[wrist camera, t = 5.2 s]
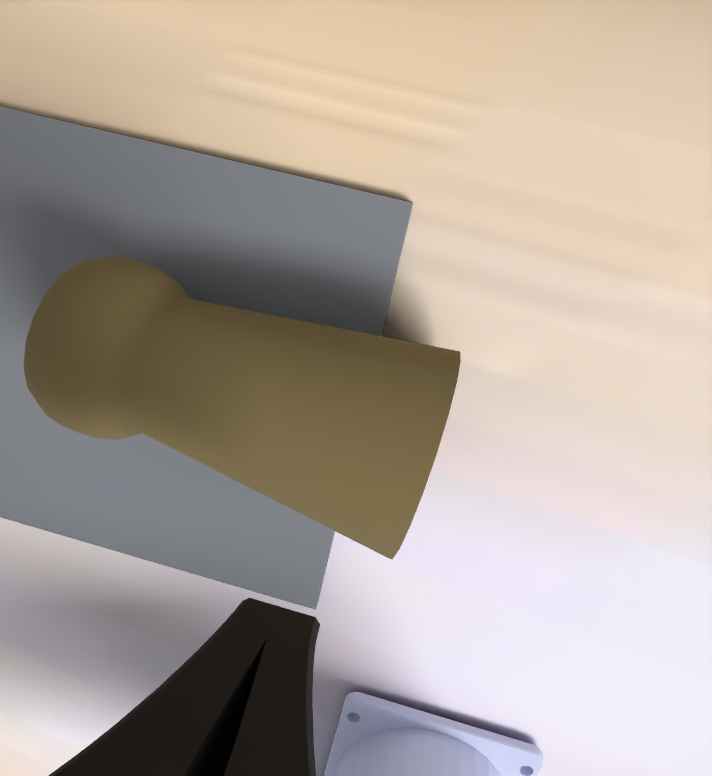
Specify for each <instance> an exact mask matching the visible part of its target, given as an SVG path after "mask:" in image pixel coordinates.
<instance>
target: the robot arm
mask: <svg viewBox="0 0 712 776" xmlns="http://www.w3.org/2000/svg"><path fill="white" fill-rule="evenodd" d="M319 627H320V623H319V622H318V620H317V619H316V617H313V616H309V615H306V614H303V613H299V612H296V611H292V610H289V609H286V608H282V607H279V606H275V605H272V604H269V603H265V602H262V601H258V600H255V599H252V598H248V599H246V600H244V601H242V602H241V604H240V605H239V606H238V607H237V609H236V610H235V611H234V612H233V613H232V614H231V616H230V617H229V618H228V619H227V620H226V621H225V622H224V623H223V625H222V626H221V627H220V628H219V629H218V630H217V631H216V632H215V633H214V634H213V635H212V636H211V637H210V638H209V639H208V640H207V641H206V642H205V643H204V645H203V646H202V647H201V648H200V649H199V650H198V651H197V652H196V653H195V654H194V655H192V656H191V657H190V658H189V659H188V660H187V661H186V662H185V663H184V664H183V665H182V666H181V667H180V668H179V669H178V670H177V671H176V672H175V673H174V674H172V675H171V676H170V677H169V678H168V679H167V680H166V681H165V682H164V683H163V684H162V685H161V686H160V687H159V688H157V689H156V690H155V691H154V692H153V693H152V694H151V695H149V696H148V697H147V698H146V699H145V700H143V701H142V702H141V703H140V704H139V705H138V706H136V707H135V708H134V709H133V710H132V711H131V712H129V713H128V714H127V715H126V716H125V717H124V718H122V719H121V720H120V721H119V722H118V723H117V724H115V725H114V726H113V727H112V728H110V729H109V730H108V731H107V732H105V733H104V734H103V735H102V736H100V737H99V738H98V739H97V740H95V741H94V742H93V743H92V744H90V745H89V746H88V747H86V748H85V749H84V750H82V751H81V752H80V753H79V754H77V755H76V756H75V757H73V758H72V759H70V760H69V761H68V762H66V763H65V764H64V765H62V766H61V767H60V768H58V769H57V770H56V771H54V772H53V773H52V774H50V775H49V776H316V771H315V759H314V743H313V712H312V683H313V663H314V653H315V645H316V639H317V635H318V631H319ZM351 712H352V713H351ZM353 713H356V714H353ZM543 763H544V759H543V753H542V751H541V749H540V748H539V747H537V746H535V745H533V744H529V743H526V742H523V741H519V740H516V739H513V738H510V737H506V736H503V735H500V734H496V733H493V732H490V731H486V730H483V729H480V728H477V727H473V726H470V725H467V724H463V723H460V722H457V721H453V720H450V719H447V718H444V717H440V716H437V715H434V714H430V713H427V712H424V711H420V710H417V709H414V708H410V707H407V706H404V705H401V704H397V703H394V702H391V701H387V700H384V699H381V698H377V697H374V696H371V695H368V694H364V693H361V692H351V693H349V694H348V695H347V696H346V698H345V701H344V705H343V709H342V712H341V716H340V719H339V723H338V726H337V730H336V733H335V737H334V740H333V744H332V747H331V751H330V755H329V758H328V762H327V765H326V769H325V772H324V776H538V774H539V772H540V770H541V768H542V766H543Z"/></svg>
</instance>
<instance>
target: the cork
mask: <svg viewBox="0 0 712 776" xmlns="http://www.w3.org/2000/svg"><path fill="white" fill-rule="evenodd" d="M459 367H460V352H459V351H454V350H449V349H444V348H439V347H434V346H429V345H423V344H418V343H413V342H408V341H403V340H398V339H393V338H388V337H382V336H377V335H372V334H367V333H362V332H357V331H352V330H347V329H341V328H336V327H331V326H326V325H321V324H316V323H311V322H306V321H300V320H295V319H290V318H285V317H280V316H275V315H270V314H264V313H259V312H254V311H249V310H244V309H239V308H234V307H229V306H223V305H218V304H213V303H208V302H203V301H198V300H193V299H191V298H190V297H189V295H188V294H187V293H186V291H185V290H184V289H183V287H182V286H181V284H180V283H179V282H178V281H177V280H176V279H174V278H173V277H171V276H170V275H168V274H166V273H165V272H163V271H162V270H160V269H158V268H155V267H153V266H150V265H148V264H145V263H142V262H139V261H137V260H134V259H131V258H124V257H111V256H110V257H105V258H100V259H95V260H91V261H87V262H83V263H80V264H77V265H75V266H74V267H72V268H71V269H69V270H68V271H66V272H65V273H64V274H62V275H61V276H60V277H59V278H58V279H57V281H56V282H55V283H54V284H53V285H52V287H51V288H50V289H49V290H48V291H47V293H46V294H45V296H44V297H43V299H42V301H41V303H40V305H39V307H38V309H37V311H36V312H35V314H34V316H33V319H32V322H31V325H30V329H29V332H28V335H27V339H26V343H25V355H24V373H25V378H26V383H27V388H28V389H29V391H30V392H31V394H32V395H33V397H34V398H35V400H36V401H37V403H38V404H39V406H40V407H41V408H42V410H43V411H44V413H45V414H46V415H47V416H48V417H50V418H51V419H53V420H54V421H56V422H57V423H59V424H60V425H62V426H63V427H66V428H68V429H71V430H73V431H75V432H78V433H81V434H84V435H87V436H90V437H93V438H100V439H112V440H118V439H122V438H126V437H129V436H133V435H137V434H141V433H143V434H145V435H147V436H149V437H151V438H153V439H155V440H157V441H159V442H161V443H162V444H164V445H166V446H168V447H170V448H172V449H174V450H176V451H178V452H180V453H182V454H184V455H186V456H188V457H190V458H192V459H194V460H196V461H198V462H200V463H202V464H204V465H206V466H208V467H210V468H212V469H214V470H216V471H218V472H220V473H222V474H224V475H226V476H228V477H230V478H232V479H234V480H235V481H237V482H239V483H241V484H243V485H245V486H247V487H249V488H251V489H253V490H255V491H257V492H259V493H261V494H263V495H265V496H267V497H269V498H271V499H273V500H275V501H277V502H279V503H281V504H283V505H285V506H287V507H289V508H291V509H293V510H295V511H297V512H299V513H301V514H303V515H305V516H307V517H308V518H310V519H312V520H314V521H316V522H318V523H320V524H322V525H324V526H326V527H328V528H330V529H332V530H334V531H336V532H338V533H340V534H342V535H344V536H346V537H348V538H350V539H352V540H354V541H356V542H358V543H360V544H362V545H364V546H366V547H368V548H370V549H372V550H374V551H376V552H378V553H380V554H381V555H383V556H385V557H387V558H390V559H393V558H394V556H395V555H396V553H397V552H398V550H399V549H400V546H401V544H402V542H403V540H404V538H405V536H406V534H407V531H408V529H409V527H410V525H411V522H412V520H413V517H414V515H415V512H416V510H417V507H418V505H419V502H420V499H421V497H422V494H423V492H424V489H425V486H426V483H427V480H428V477H429V474H430V471H431V469H432V466H433V463H434V460H435V457H436V454H437V451H438V448H439V444H440V441H441V438H442V434H443V431H444V428H445V425H446V421H447V418H448V415H449V411H450V407H451V403H452V399H453V395H454V391H455V387H456V383H457V378H458V372H459Z"/></svg>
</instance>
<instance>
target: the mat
mask: <svg viewBox="0 0 712 776" xmlns="http://www.w3.org/2000/svg"><path fill="white" fill-rule="evenodd" d="M412 205H413V202H409V201H404V200H400V199H396V198H392V197H387V196H383V195H379V194H374V193H370V192H366V191H362V190H357V189H353V188H349V187H344V186H340V185H336V184H332V183H327V182H323V181H319V180H314V179H310V178H306V177H302V176H297V175H293V174H289V173H284V172H280V171H276V170H272V169H267V168H263V167H259V166H254V165H250V164H246V163H242V162H237V161H233V160H229V159H224V158H220V157H216V156H212V155H207V154H203V153H199V152H194V151H190V150H186V149H182V148H177V147H173V146H169V145H164V144H160V143H156V142H152V141H147V140H143V139H139V138H134V137H130V136H126V135H122V134H117V133H113V132H109V131H105V130H100V129H96V128H92V127H87V126H83V125H79V124H75V123H70V122H66V121H62V120H57V119H53V118H49V117H45V116H40V115H36V114H32V113H27V112H23V111H19V110H15V109H10V108H6V107H2V106H0V517H2V518H5V519H9V520H12V521H15V522H19V523H22V524H26V525H29V526H32V527H36V528H39V529H43V530H46V531H50V532H53V533H56V534H60V535H63V536H67V537H70V538H73V539H77V540H80V541H84V542H87V543H90V544H94V545H97V546H101V547H104V548H107V549H111V550H114V551H118V552H121V553H125V554H128V555H131V556H135V557H138V558H142V559H145V560H148V561H152V562H155V563H159V564H162V565H165V566H169V567H172V568H176V569H179V570H183V571H186V572H189V573H193V574H196V575H200V576H203V577H206V578H210V579H213V580H217V581H220V582H223V583H227V584H230V585H234V586H237V587H241V588H244V589H247V590H251V591H254V592H258V593H261V594H264V595H268V596H271V597H275V598H278V599H281V600H285V601H288V602H292V603H295V604H299V605H302V606H305V607H309V608H312V609H316V606H317V603H318V599H319V595H320V591H321V587H322V582H323V578H324V574H325V570H326V566H327V561H328V557H329V553H330V549H331V545H332V541H333V536H334V532H335V531H334V530H332V529H330V528H328V527H326V526H324V525H322V524H320V523H318V522H316V521H314V520H312V519H310V518H308V517H307V516H305V515H303V514H301V513H299V512H297V511H295V510H293V509H291V508H289V507H287V506H285V505H283V504H281V503H279V502H277V501H275V500H273V499H271V498H269V497H267V496H265V495H263V494H261V493H259V492H257V491H255V490H253V489H251V488H249V487H247V486H245V485H243V484H241V483H239V482H237V481H235V480H234V479H232V478H230V477H228V476H226V475H224V474H222V473H220V472H218V471H216V470H214V469H212V468H210V467H208V466H206V465H204V464H202V463H200V462H198V461H196V460H194V459H192V458H190V457H188V456H186V455H184V454H182V453H180V452H178V451H176V450H174V449H172V448H170V447H168V446H166V445H164V444H162V443H161V442H159V441H157V440H155V439H153V438H151V437H149V436H147V435H145V434H143V433H141V434H137V435H133V436H129V437H126V438H122V439H118V440H112V439H100V438H93V437H90V436H87V435H84V434H81V433H78V432H75V431H73V430H71V429H68V428H66V427H63V426H62V425H60V424H59V423H57V422H56V421H54V420H53V419H51V418H50V417H48V416H47V415H46V414H45V413H44V411H43V410H42V408H41V407H40V406H39V404H38V403H37V401H36V400H35V398H34V397H33V395H32V394H31V392H30V391H29V389H28V388H27V383H26V378H25V373H24V355H25V343H26V339H27V335H28V332H29V329H30V325H31V322H32V319H33V316H34V314H35V312H36V311H37V309H38V307H39V305H40V303H41V301H42V299H43V297H44V296H45V294H46V293H47V291H48V290H49V289H50V288H51V287H52V285H53V284H54V283H55V282H56V281H57V279H58V278H59V277H60V276H61V275H62V274H64V273H65V272H66V271H68V270H69V269H71V268H72V267H74V266H75V265H77V264H80V263H83V262H87V261H91V260H95V259H100V258H105V257H110V256H111V257H124V258H131V259H134V260H137V261H139V262H142V263H145V264H148V265H150V266H153V267H155V268H158V269H160V270H162V271H163V272H165V273H166V274H168V275H170V276H171V277H173V278H174V279H176V280H177V281H178V282H179V283H180V284H181V286H182V287H183V289H184V290H185V291H186V293H187V294H188V295H189V297H190V298H191V299H193V300H198V301H203V302H208V303H213V304H218V305H223V306H229V307H234V308H239V309H244V310H249V311H254V312H259V313H264V314H270V315H275V316H280V317H285V318H290V319H295V320H300V321H306V322H311V323H316V324H321V325H326V326H331V327H336V328H341V329H347V330H352V331H357V332H362V333H367V334H372V335H377V336H381V335H382V331H383V327H384V323H385V319H386V314H387V310H388V306H389V302H390V298H391V293H392V289H393V285H394V281H395V277H396V272H397V268H398V264H399V260H400V256H401V252H402V247H403V243H404V239H405V235H406V231H407V226H408V222H409V218H410V214H411V210H412Z"/></svg>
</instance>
